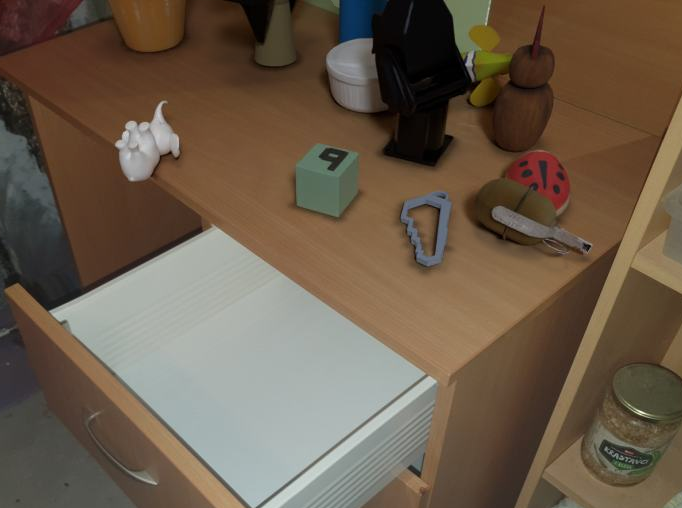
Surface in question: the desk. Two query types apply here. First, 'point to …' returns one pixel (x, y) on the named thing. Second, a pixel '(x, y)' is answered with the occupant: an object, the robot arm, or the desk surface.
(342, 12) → the beverage can
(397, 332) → the desk surface
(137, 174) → the elephant figurine
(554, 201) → the ladybug figurine
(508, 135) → the wooden figurine
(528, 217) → the grenade
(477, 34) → the fish toy
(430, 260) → the key tool
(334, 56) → the ramekin
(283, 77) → the desk surface
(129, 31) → the flower pot
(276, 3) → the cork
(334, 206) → the letter block
